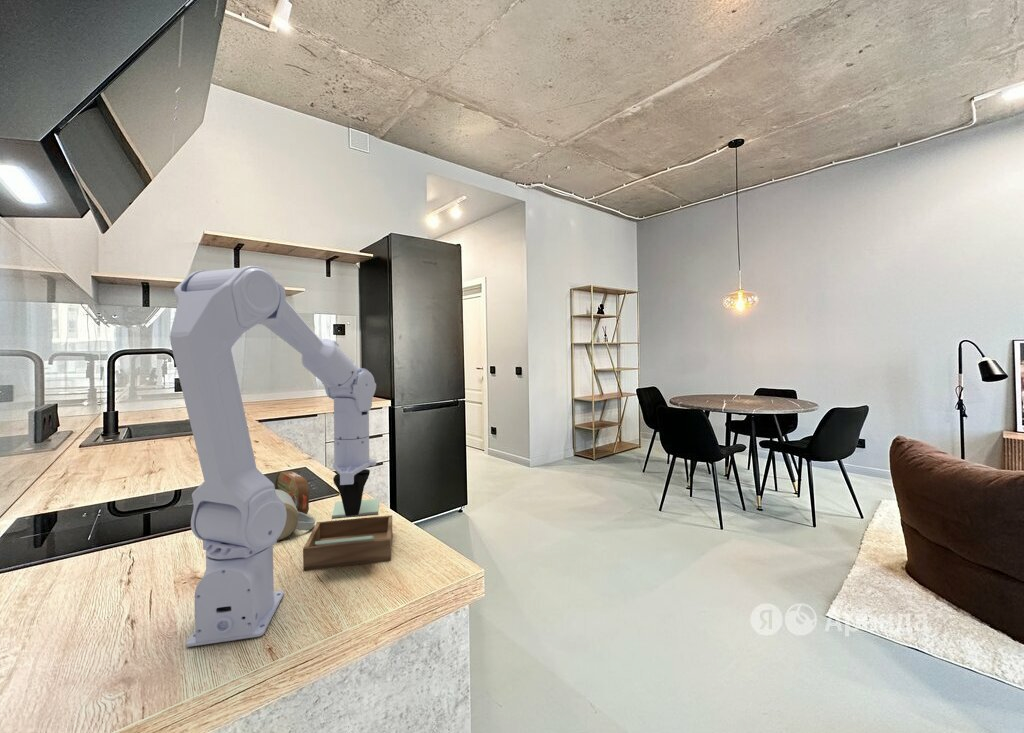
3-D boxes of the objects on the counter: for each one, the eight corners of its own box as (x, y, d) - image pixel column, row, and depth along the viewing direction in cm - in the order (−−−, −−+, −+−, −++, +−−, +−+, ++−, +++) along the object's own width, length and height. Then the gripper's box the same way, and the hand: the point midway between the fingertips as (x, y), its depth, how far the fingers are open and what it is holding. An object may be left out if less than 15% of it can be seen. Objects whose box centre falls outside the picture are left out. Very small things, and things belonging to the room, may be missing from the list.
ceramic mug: (254, 548, 74) (254, 504, 74) (248, 533, 80) (248, 492, 80) (319, 533, 81) (320, 493, 80) (309, 520, 87) (309, 483, 87)
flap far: (378, 513, 79) (378, 515, 79) (379, 498, 83) (379, 500, 83) (331, 517, 77) (331, 519, 77) (335, 502, 81) (335, 504, 81)
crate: (390, 560, 69) (390, 539, 69) (303, 570, 66) (302, 548, 66) (392, 533, 80) (392, 515, 80) (317, 540, 77) (317, 522, 77)
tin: (273, 506, 95) (273, 468, 95) (289, 502, 97) (288, 466, 97) (295, 525, 84) (295, 483, 84) (312, 521, 86) (311, 479, 86)
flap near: (320, 541, 67) (320, 545, 67) (315, 540, 63) (314, 544, 63) (374, 536, 69) (374, 539, 69) (372, 535, 65) (372, 538, 65)
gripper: (372, 443, 68) (373, 528, 69) (378, 429, 82) (378, 499, 83) (325, 445, 67) (326, 532, 67) (339, 430, 81) (339, 502, 81)
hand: (352, 514), depth 75 cm, fingers closed
